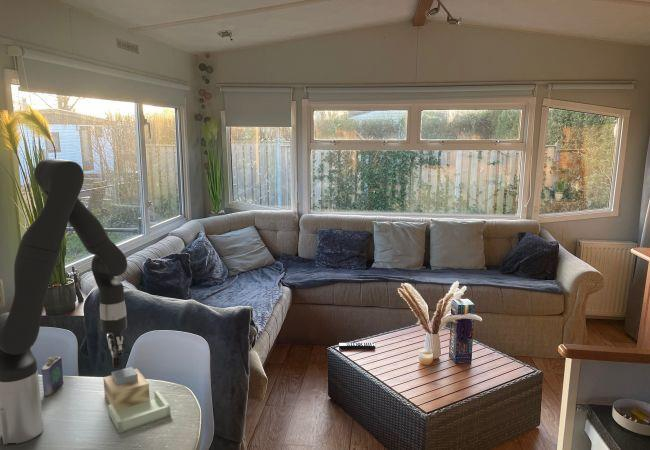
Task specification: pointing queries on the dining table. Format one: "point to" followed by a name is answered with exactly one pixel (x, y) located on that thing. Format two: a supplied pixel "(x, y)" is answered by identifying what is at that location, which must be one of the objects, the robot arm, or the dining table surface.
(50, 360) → the flask
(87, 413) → the dining table surface
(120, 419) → the tray
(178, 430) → the dining table surface
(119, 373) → the tile
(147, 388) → the cardboard box
